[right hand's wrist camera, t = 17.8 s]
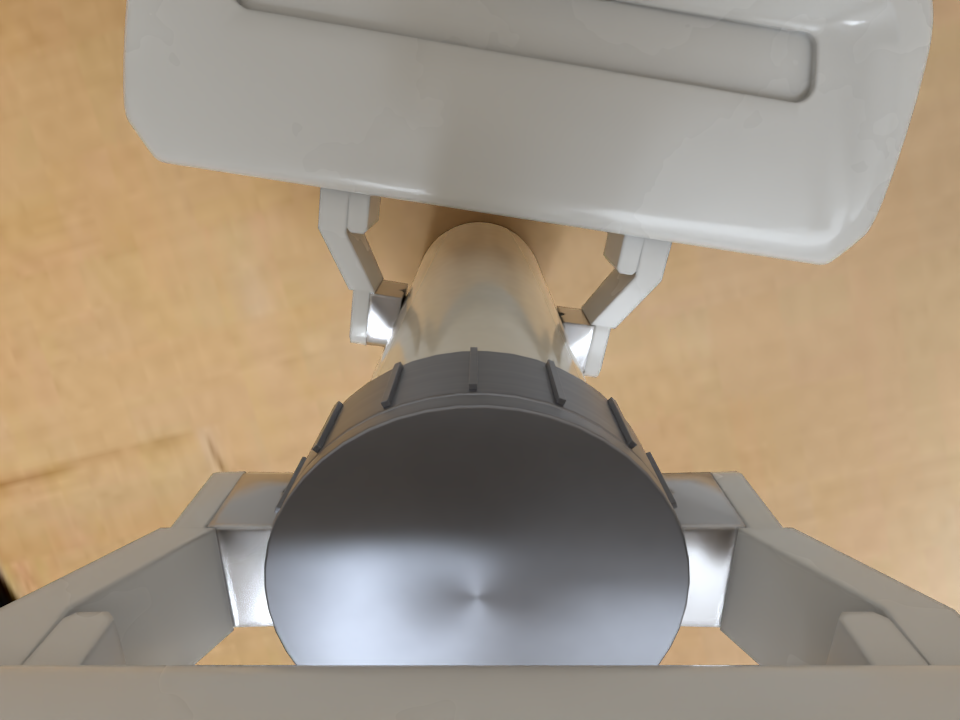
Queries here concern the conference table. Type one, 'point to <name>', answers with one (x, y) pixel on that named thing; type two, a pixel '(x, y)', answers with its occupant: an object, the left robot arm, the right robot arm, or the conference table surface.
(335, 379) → the conference table surface
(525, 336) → the jar
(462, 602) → the lid
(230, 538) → the right robot arm
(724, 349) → the conference table surface
